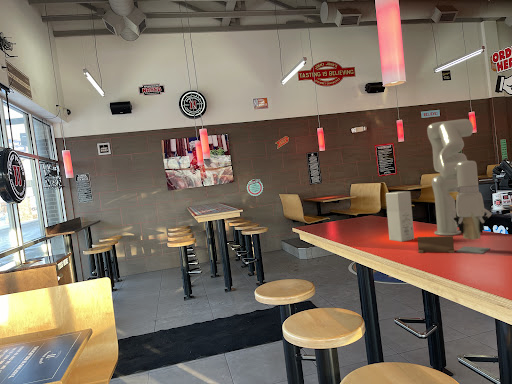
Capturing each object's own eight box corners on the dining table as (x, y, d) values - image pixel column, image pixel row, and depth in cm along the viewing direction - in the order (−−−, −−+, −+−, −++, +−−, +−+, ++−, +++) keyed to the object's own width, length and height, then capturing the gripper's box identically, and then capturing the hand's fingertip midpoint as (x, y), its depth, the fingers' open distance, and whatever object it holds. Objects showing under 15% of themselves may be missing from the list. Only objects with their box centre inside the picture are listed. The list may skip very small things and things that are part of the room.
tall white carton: (401, 237, 204) (397, 191, 203) (414, 239, 196) (410, 191, 195) (389, 240, 201) (385, 193, 200) (401, 241, 193) (397, 193, 192)
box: (463, 238, 161) (461, 212, 161) (470, 237, 163) (468, 211, 163) (474, 239, 156) (472, 213, 156) (481, 238, 158) (479, 212, 158)
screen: (418, 250, 170) (417, 236, 169) (453, 250, 164) (452, 235, 164) (418, 252, 165) (417, 238, 165) (454, 252, 159) (453, 237, 159)
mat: (464, 247, 167) (464, 246, 167) (489, 248, 160) (489, 248, 160) (456, 251, 160) (456, 251, 160) (482, 253, 153) (482, 252, 153)
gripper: (445, 192, 159) (449, 234, 160) (493, 189, 152) (497, 233, 153) (445, 191, 166) (448, 231, 167) (490, 188, 159) (494, 230, 159)
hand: (471, 232), depth 160 cm, fingers closed on box, 6 cm apart
